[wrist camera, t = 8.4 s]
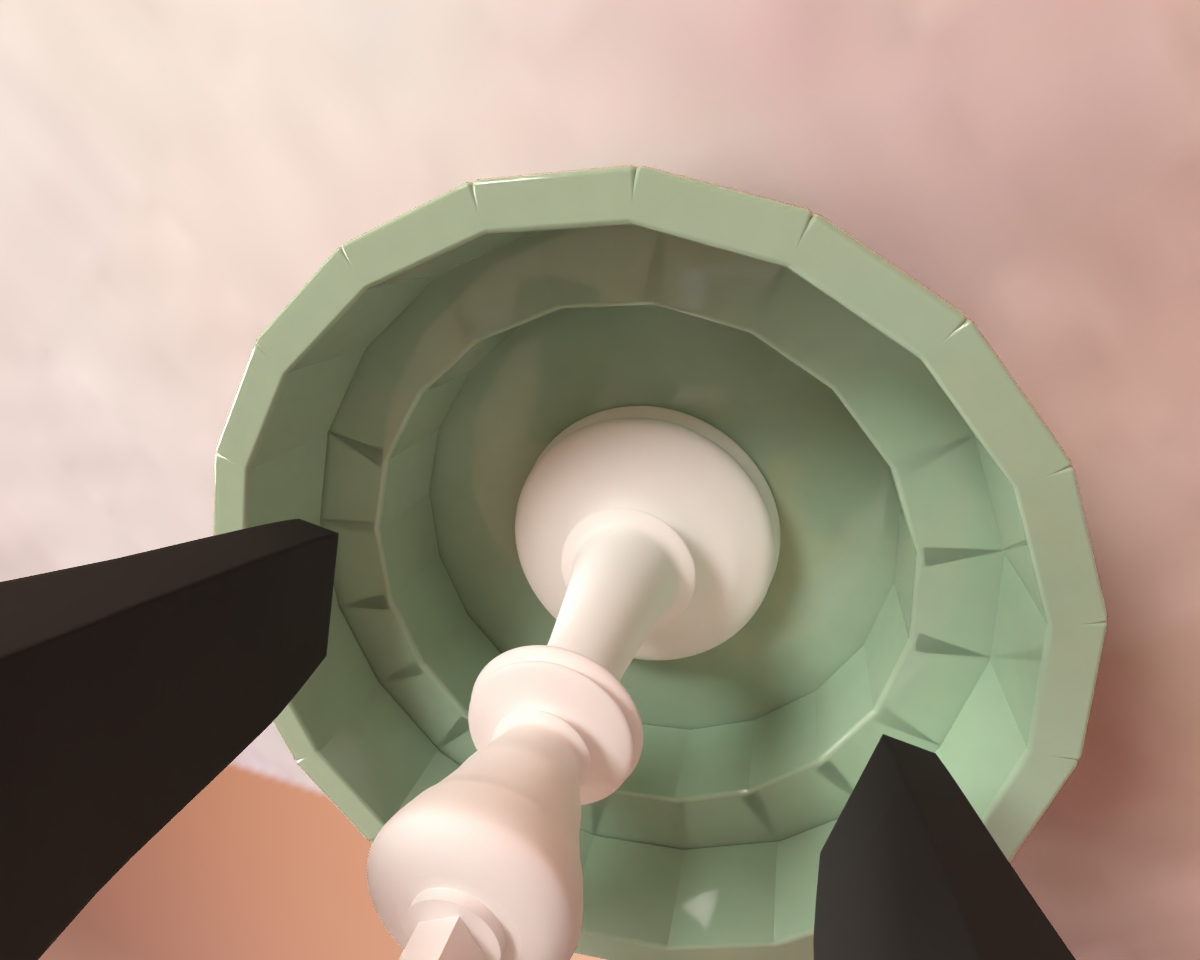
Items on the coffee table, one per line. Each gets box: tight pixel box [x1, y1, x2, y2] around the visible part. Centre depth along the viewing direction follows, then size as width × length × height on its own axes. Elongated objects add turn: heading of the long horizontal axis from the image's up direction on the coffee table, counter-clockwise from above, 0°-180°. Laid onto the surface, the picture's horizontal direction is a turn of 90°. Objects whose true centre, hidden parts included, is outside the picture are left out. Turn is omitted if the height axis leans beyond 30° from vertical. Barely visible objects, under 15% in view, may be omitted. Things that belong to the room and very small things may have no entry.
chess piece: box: [367, 406, 780, 960], centre depth 9 cm, size 5×5×10 cm
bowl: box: [213, 165, 1108, 960], centre depth 12 cm, size 12×12×4 cm
